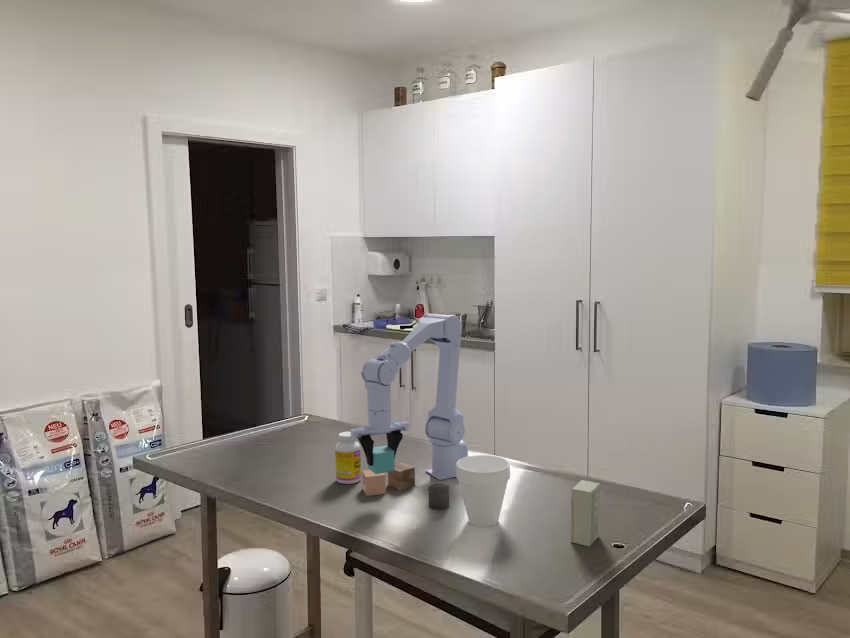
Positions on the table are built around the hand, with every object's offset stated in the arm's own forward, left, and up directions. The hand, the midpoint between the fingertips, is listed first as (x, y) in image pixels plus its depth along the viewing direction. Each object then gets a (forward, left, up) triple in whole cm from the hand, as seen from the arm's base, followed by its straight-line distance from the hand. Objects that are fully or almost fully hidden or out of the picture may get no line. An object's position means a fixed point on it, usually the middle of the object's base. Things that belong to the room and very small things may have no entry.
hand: (380, 462), depth 177 cm
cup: (-16, +22, -10) cm, 29 cm away
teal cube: (0, 0, -2) cm, 2 cm away
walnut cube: (-9, -8, -10) cm, 16 cm away
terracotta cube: (-1, -7, -10) cm, 13 cm away
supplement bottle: (+2, -18, -10) cm, 21 cm away
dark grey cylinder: (-11, +10, -10) cm, 18 cm away
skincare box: (-30, +41, -10) cm, 52 cm away
